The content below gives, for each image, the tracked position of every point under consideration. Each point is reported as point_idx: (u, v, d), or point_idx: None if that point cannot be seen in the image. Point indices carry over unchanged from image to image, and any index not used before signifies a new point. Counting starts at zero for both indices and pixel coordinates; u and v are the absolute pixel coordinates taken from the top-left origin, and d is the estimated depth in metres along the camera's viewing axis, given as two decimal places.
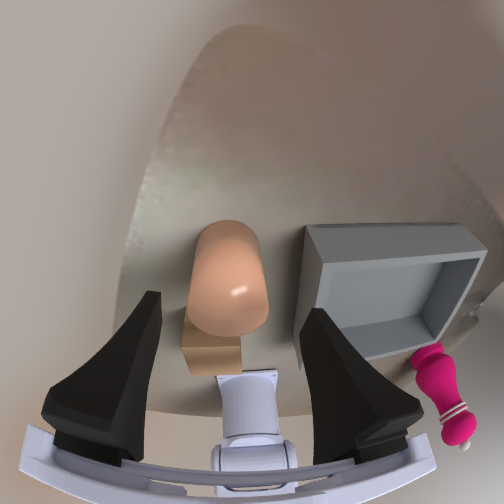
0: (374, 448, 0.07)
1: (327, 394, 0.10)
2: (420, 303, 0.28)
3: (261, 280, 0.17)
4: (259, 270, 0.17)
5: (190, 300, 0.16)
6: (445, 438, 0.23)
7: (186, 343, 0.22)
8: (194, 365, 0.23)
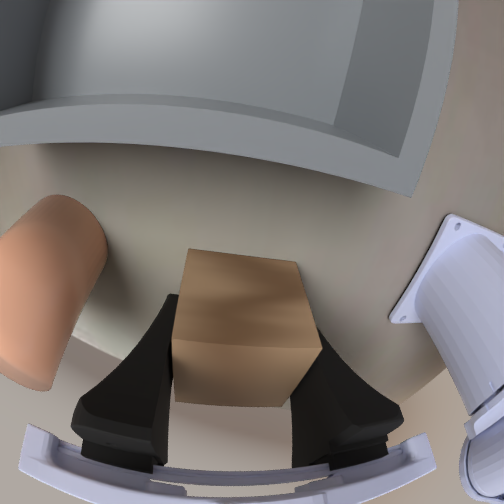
0: (350, 454, 0.07)
1: (304, 396, 0.10)
2: None
3: None
4: None
5: (1, 372, 0.06)
6: None
7: None
8: (242, 401, 0.11)
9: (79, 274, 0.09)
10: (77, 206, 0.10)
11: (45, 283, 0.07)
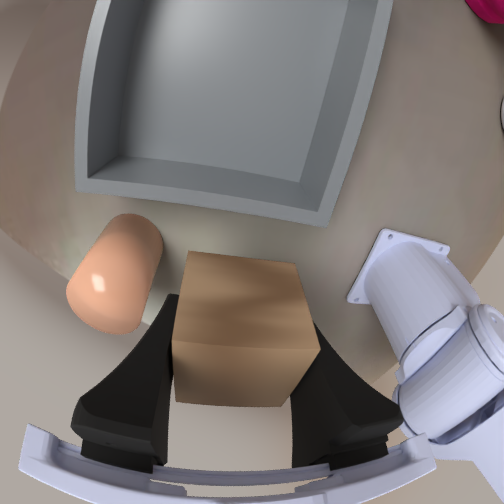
0: (350, 454, 0.07)
1: (304, 396, 0.10)
2: None
3: (85, 261, 0.14)
4: (90, 253, 0.14)
5: (92, 326, 0.15)
6: None
7: None
8: (242, 401, 0.11)
9: (153, 263, 0.17)
10: (147, 222, 0.18)
11: (140, 266, 0.15)
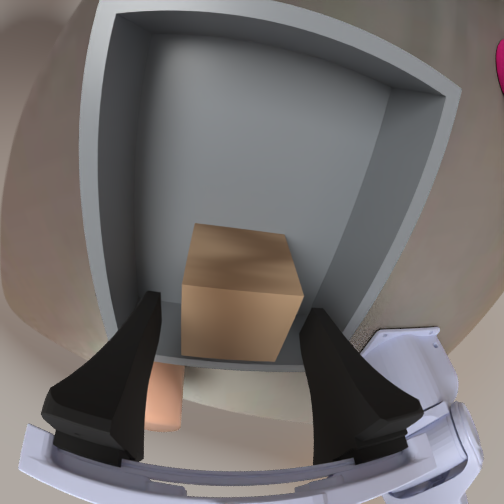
0: (374, 448, 0.07)
1: (327, 394, 0.10)
2: (353, 88, 0.11)
3: None
4: None
5: None
6: None
7: None
8: (239, 353, 0.13)
9: (182, 378, 0.19)
10: None
11: (175, 390, 0.17)
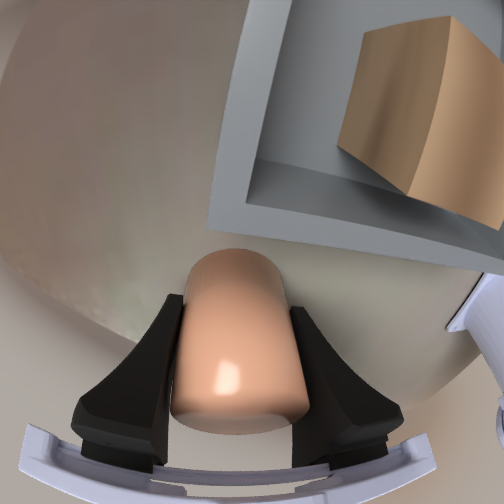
0: (350, 454, 0.07)
1: None
2: None
3: (209, 354, 0.08)
4: (208, 333, 0.09)
5: (205, 431, 0.09)
6: None
7: (404, 172, 0.06)
8: (480, 201, 0.06)
9: None
10: (268, 262, 0.13)
11: (294, 344, 0.10)
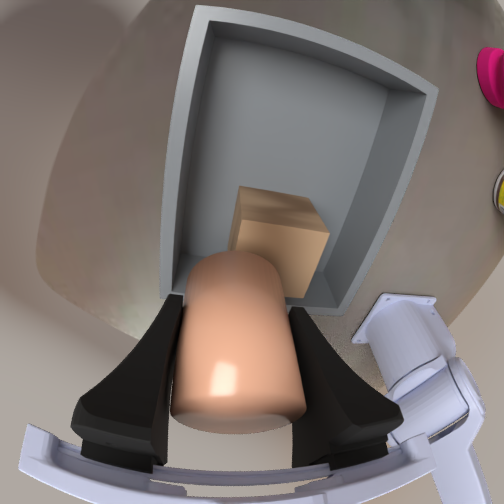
0: (350, 454, 0.07)
1: (304, 396, 0.10)
2: (361, 89, 0.15)
3: (209, 357, 0.08)
4: (208, 336, 0.09)
5: (203, 430, 0.10)
6: None
7: None
8: None
9: None
10: (268, 264, 0.13)
11: (293, 347, 0.10)
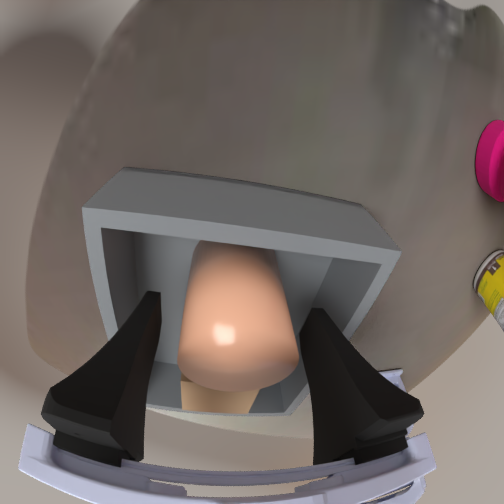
0: (374, 448, 0.07)
1: (327, 394, 0.10)
2: None
3: (215, 305, 0.10)
4: (214, 289, 0.11)
5: (205, 386, 0.11)
6: None
7: None
8: (222, 410, 0.18)
9: None
10: None
11: (286, 304, 0.12)
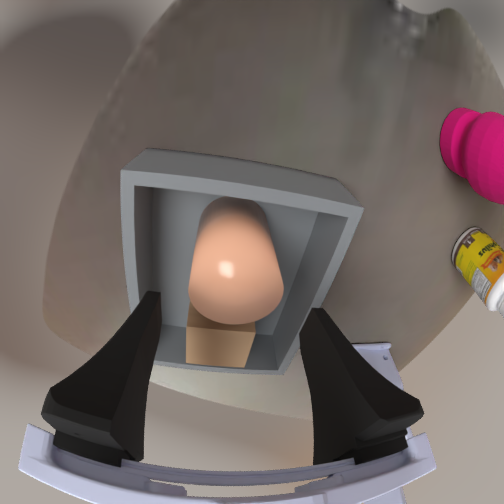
0: (374, 448, 0.07)
1: (327, 394, 0.10)
2: None
3: (218, 242, 0.14)
4: (217, 234, 0.15)
5: (210, 317, 0.15)
6: None
7: None
8: (221, 362, 0.21)
9: None
10: (257, 205, 0.19)
11: (273, 249, 0.16)
